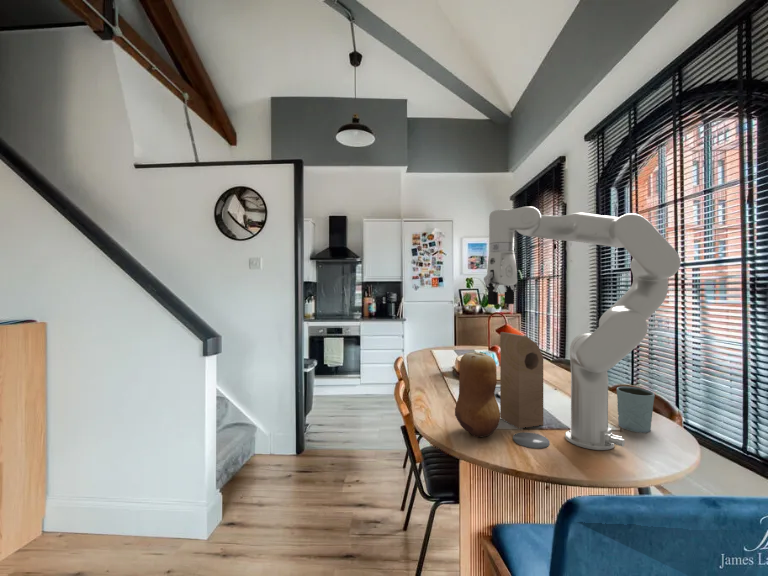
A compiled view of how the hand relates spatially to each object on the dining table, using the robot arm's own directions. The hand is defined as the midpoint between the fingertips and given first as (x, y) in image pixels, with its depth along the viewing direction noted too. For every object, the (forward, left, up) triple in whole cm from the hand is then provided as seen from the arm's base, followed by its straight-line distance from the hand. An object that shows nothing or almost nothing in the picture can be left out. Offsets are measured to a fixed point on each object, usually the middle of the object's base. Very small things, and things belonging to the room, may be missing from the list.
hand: (501, 304), depth 115 cm
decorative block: (0, -12, -40) cm, 42 cm away
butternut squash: (+3, +8, -40) cm, 41 cm away
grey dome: (-10, 0, -40) cm, 41 cm away
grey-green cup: (-26, -36, -40) cm, 60 cm away
